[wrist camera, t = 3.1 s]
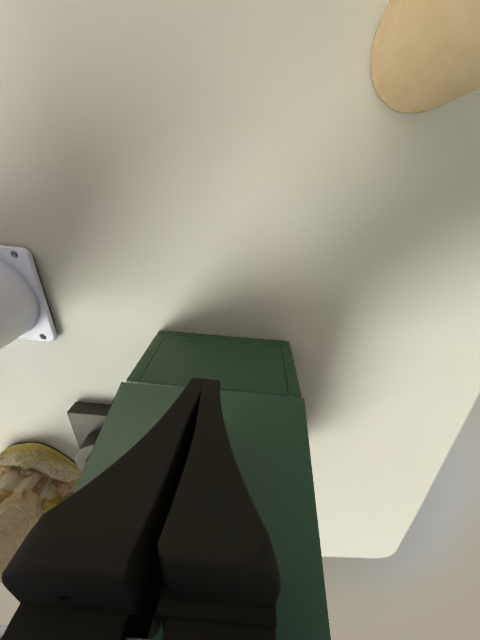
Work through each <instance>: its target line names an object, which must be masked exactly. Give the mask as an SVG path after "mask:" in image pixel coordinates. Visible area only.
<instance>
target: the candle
mask: <svg viewBox="0 0 480 640" xmlns="http://www.w3.org/2000/svg"><path fill="white" fill-rule="evenodd" d="M371 71H372V78H373V83H374V86H375V89H376V91H377V93H378V95H379V97H380V98H381V99H382V101H383V102H384V103H385V104H386V105H387V106H389V107H390V108H392V109H393V110H396V111H398V112H403V113H418V112H423V111H427V110H430V109H432V108H435V107H437V106H440V105H442V104H445V103H447V102H449V101H452V100H454V99H456V98H458V97H461V96H463V95H465V94H467V93H470V92H472V91H474V90H476V89H479V88H480V0H391V1H390V3H389V4H388V6H387V8H386V10H385V12H384V14H383V16H382V19H381V21H380V23H379V26H378V28H377V32H376V35H375V38H374V43H373V47H372V55H371Z"/></svg>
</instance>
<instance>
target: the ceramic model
mask: <svg viewBox="0 0 480 640" xmlns="http://www.w3.org/2000/svg"><path fill="white" fill-rule="evenodd" d="M81 474H82V471H80V470H79V469H78V468H77V465H76V464H75V463H74V462H72V461H71V460H70V459H69V458H67V457H66V456H64V455H62V454H61V453H60V452H58V451H56V450H55V449H52V448H50V447H48V446H46V445H43V444H38V443H24V444H17V445H12V446H10V447H8V448H7V449H5V450H4V451H3V452H2V453H1V454H0V582H1V583H2V573H3V571H4V570H5V568H6V567H7V565H8V563H9V562H10V560H11V559H12V557H13V556H14V554H15V553H16V551H17V550H18V548H19V547H20V545H21V544H22V542H23V540H24V539H25V537H26V536H27V535H28V533H29V532H30V530H31V529H32V528H33V527H34V525H35V524H36V523H37V522H38V520H39V519H40V517H41V516H42V515H43V514H44V513H46V512H47V511H49V510H50V509H52V508H53V507H55V506H56V505H58V504H59V503H60V502H62V501H63V500H65V499H66V498H68V497H69V496H71V495H72V494H73V493H74V490H75V488H76V486H77V483H78V481H79V479H80V477H81Z"/></svg>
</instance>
